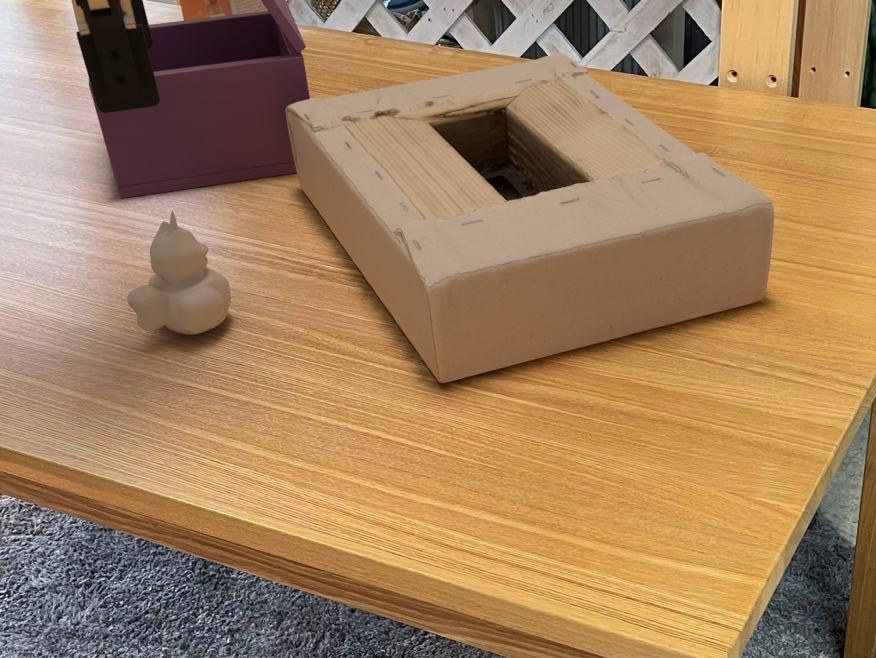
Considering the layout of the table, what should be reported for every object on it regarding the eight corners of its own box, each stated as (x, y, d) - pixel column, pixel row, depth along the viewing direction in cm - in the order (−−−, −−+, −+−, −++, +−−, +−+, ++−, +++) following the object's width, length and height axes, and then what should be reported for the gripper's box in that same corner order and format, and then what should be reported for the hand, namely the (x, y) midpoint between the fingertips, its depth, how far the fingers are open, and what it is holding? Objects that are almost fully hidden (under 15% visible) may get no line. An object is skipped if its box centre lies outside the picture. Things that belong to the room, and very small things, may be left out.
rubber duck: (254, 327, 76) (229, 211, 71) (162, 365, 73) (129, 247, 68) (212, 298, 79) (185, 184, 74) (122, 333, 76) (87, 218, 71)
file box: (120, 198, 92) (88, 83, 86) (117, 138, 101) (88, 31, 95) (321, 169, 95) (303, 56, 89) (300, 114, 104) (283, 8, 98)
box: (292, 193, 92) (437, 392, 69) (276, 93, 87) (426, 272, 64) (560, 141, 99) (771, 305, 76) (559, 46, 94) (784, 192, 72)
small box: (192, 66, 115) (166, -51, 108) (237, 51, 118) (215, -64, 111) (244, 83, 111) (221, -37, 104) (289, 66, 114) (270, -51, 107)
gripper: (-42, -307, 60) (61, 40, 71) (-77, -270, 47) (55, 144, 58) (109, -318, 61) (187, 23, 73) (114, -286, 49) (207, 122, 60)
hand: (128, 77), depth 66 cm, fingers open, 9 cm apart
